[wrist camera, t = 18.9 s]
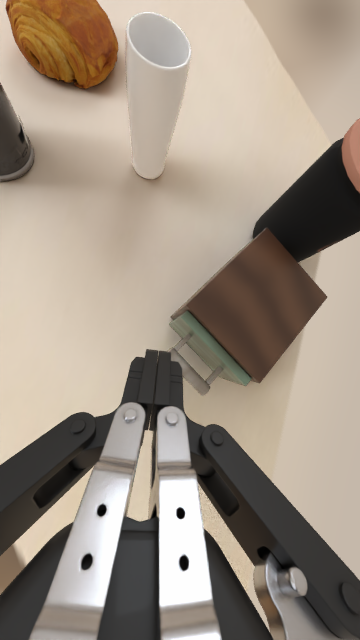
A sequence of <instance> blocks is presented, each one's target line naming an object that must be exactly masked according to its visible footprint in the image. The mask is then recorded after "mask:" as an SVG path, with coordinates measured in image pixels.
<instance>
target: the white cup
mask: <svg viewBox="0 0 360 640" xmlns="http://www.w3.org/2000/svg"><path fill="white" fill-rule="evenodd" d="M190 59H191V46H190V43H189V40H188V38H187V36H186V35H185V33H184V32H183V30H182V29H181V28H180V27H179V26H178V25H177V24H176V23H174V22H173V21H172V20H170V19H169V18H167V17H165V16H163V15H160V14H157V13H152V12H142V13H138V14H136V15H134V16H133V17H132V18H131V19H130V20H129V21H128V23H127V27H126V51H125V65H126V90H127V102H128V113H129V125H130V137H131V150H132V165H133V168H134V170H135V171H136V172H137V173H138V174H139V175H140V176H141V177H143V178H146V179H155V178H157V177H159V176H160V175H161V174H162V172H163V170H164V165H165V160H166V157H167V153H168V150H169V146H170V143H171V139H172V136H173V132H174V129H175V125H176V122H177V119H178V115H179V112H180V108H181V104H182V100H183V96H184V92H185V87H186V82H187V77H188V71H189V65H190Z"/></svg>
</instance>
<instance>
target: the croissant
mask: <svg viewBox="0 0 360 640" xmlns="http://www.w3.org/2000/svg"><path fill="white" fill-rule="evenodd" d="M6 11H7V14H8V17H9V21H10V23H11V28H12V33H13V36H14V39H15V41H16V44H17V45H18V47H19V49H20V51H21V52H22V54H23V55H24V57H25V58H26V59H27V60H28V62H29V63H30V64H31V65H32V66H33V67H34V68H35V69H36V70H37V71H39V72H40V73H41V74H45V75H47V76H48V77H51V78H56V79H57V80H58V81H59V79H60V80H64V81H65V82H70V83H71V82H74V85H75V86H77V87H79V88H84V89H85V88H86V89H87V88H89V87H91V86H95V85H97V84H99V83H100V82H102V81H103V80H105V79H106V77H107V76H108V75H109V73H110V72H111V71H112V69H113V68H114V65H115V62H116V61H117V52H118V42H117V38H116V35H115V33H114V30H113V28H112V26H111V23H110V20H109V19H108V16H107V14H106V13H105V11H104V10H103V9H102V8H101V6H100V5H99V3H98V2H97V1H96V0H7V3H6Z"/></svg>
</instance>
